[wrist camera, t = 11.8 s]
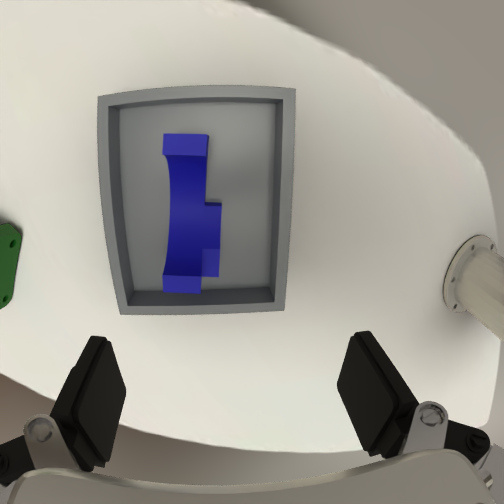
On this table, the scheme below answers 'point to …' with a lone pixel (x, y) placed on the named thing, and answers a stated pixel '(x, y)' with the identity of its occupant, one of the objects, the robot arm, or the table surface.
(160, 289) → the gray tray
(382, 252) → the table surface
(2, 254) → the clamp
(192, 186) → the blue long angular piece
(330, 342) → the table surface
